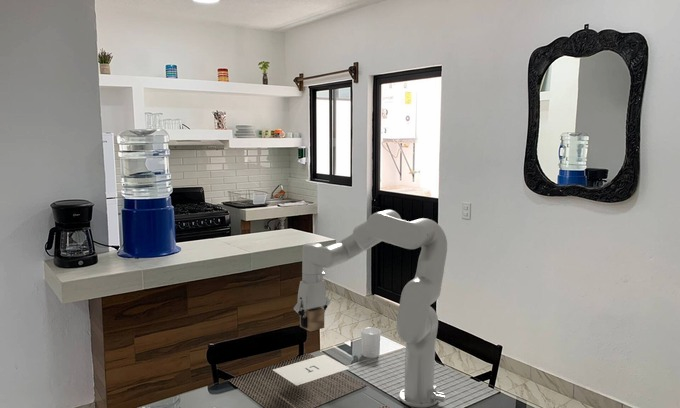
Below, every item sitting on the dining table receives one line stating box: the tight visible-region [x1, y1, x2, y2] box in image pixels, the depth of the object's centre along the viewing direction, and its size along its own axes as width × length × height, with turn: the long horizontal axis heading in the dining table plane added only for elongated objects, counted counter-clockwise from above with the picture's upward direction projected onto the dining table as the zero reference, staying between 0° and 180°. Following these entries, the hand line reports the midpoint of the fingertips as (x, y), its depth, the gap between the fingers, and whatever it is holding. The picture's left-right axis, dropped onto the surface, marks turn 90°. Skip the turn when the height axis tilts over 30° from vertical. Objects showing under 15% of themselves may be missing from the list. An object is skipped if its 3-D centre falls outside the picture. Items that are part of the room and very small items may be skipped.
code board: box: [272, 354, 350, 387], centre depth 194 cm, size 24×16×1 cm, turn 129°
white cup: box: [360, 326, 382, 359], centre depth 209 cm, size 8×8×10 cm
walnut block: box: [299, 307, 326, 332], centre depth 192 cm, size 6×6×7 cm
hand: (312, 324), depth 192 cm, fingers closed on walnut block, 6 cm apart
